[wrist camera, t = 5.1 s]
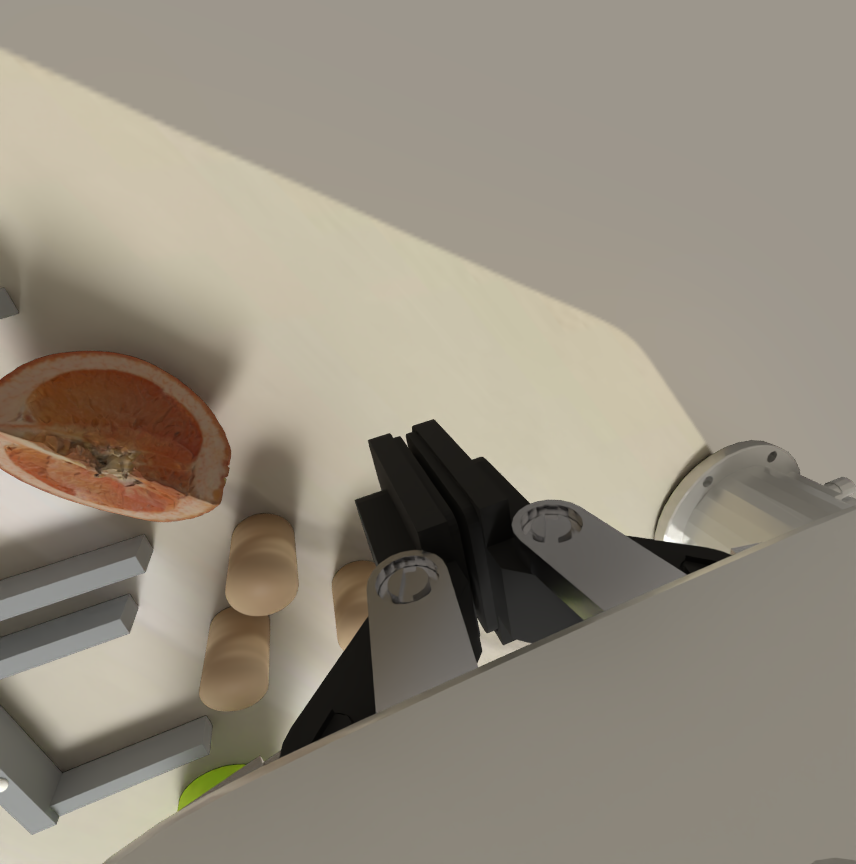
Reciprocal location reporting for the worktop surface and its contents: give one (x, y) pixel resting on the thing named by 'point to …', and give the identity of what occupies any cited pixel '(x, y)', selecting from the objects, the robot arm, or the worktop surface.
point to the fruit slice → (112, 436)
